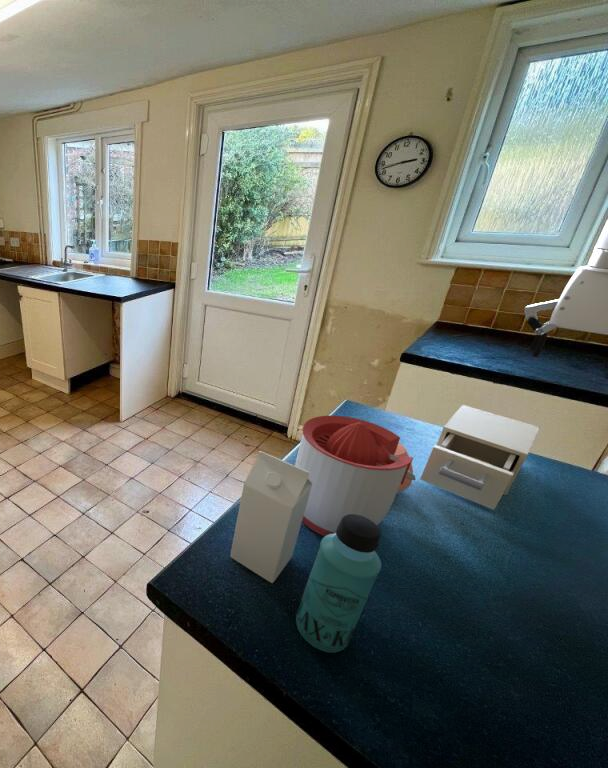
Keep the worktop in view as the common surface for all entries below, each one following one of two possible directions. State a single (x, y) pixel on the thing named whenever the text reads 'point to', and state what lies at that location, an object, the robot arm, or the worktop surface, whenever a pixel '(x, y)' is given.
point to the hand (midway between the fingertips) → (573, 362)
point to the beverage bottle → (339, 584)
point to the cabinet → (493, 433)
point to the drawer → (469, 470)
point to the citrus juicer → (349, 470)
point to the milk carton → (270, 515)
